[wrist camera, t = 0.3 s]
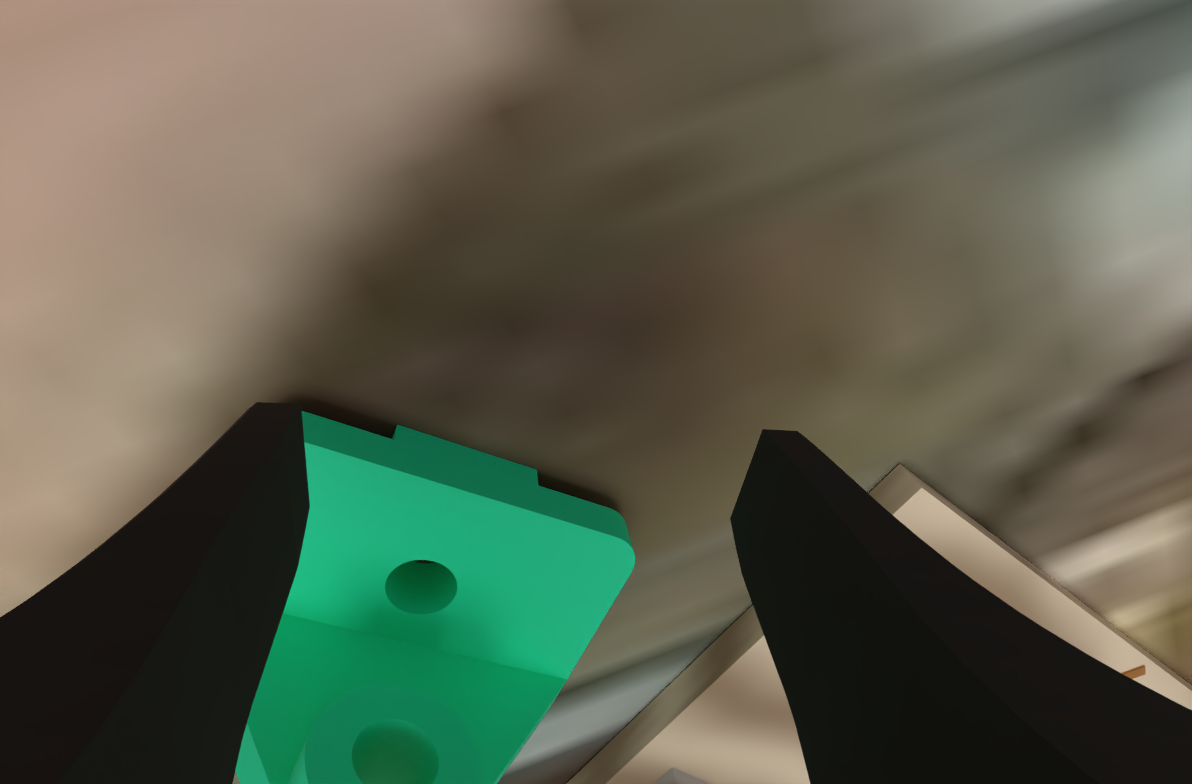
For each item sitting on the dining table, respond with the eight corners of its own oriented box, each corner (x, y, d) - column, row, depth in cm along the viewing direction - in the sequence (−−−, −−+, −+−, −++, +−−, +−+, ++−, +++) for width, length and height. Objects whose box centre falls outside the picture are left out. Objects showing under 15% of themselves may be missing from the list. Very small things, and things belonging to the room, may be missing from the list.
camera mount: (632, 498, 25) (713, 766, 16) (543, 652, 28) (571, 954, 19) (276, 382, 22) (128, 644, 13) (215, 573, 25) (56, 899, 16)
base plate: (866, 923, 40) (902, 1008, 37) (544, 804, 32) (551, 899, 29) (1192, 685, 34) (1270, 760, 31) (899, 463, 26) (962, 531, 23)
